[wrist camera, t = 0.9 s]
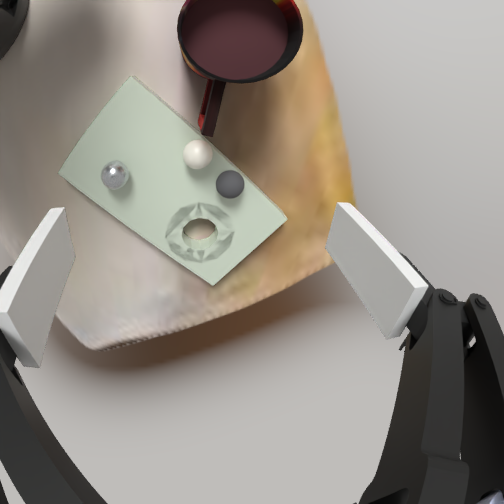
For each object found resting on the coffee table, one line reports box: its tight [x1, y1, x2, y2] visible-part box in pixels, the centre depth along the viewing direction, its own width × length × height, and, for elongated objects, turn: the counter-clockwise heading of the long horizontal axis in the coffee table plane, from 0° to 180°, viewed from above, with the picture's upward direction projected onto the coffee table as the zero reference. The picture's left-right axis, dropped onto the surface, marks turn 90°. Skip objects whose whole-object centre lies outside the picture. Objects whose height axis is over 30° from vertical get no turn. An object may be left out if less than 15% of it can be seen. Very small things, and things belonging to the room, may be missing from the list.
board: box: [58, 76, 287, 285], centre depth 35 cm, size 26×14×2 cm, turn 43°
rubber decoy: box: [216, 170, 245, 199], centre depth 33 cm, size 3×3×3 cm
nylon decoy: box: [183, 140, 213, 169], centre depth 30 cm, size 3×3×3 cm
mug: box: [177, 0, 303, 137], centre depth 24 cm, size 10×14×12 cm
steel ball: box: [101, 160, 129, 190], centre depth 29 cm, size 3×3×3 cm
